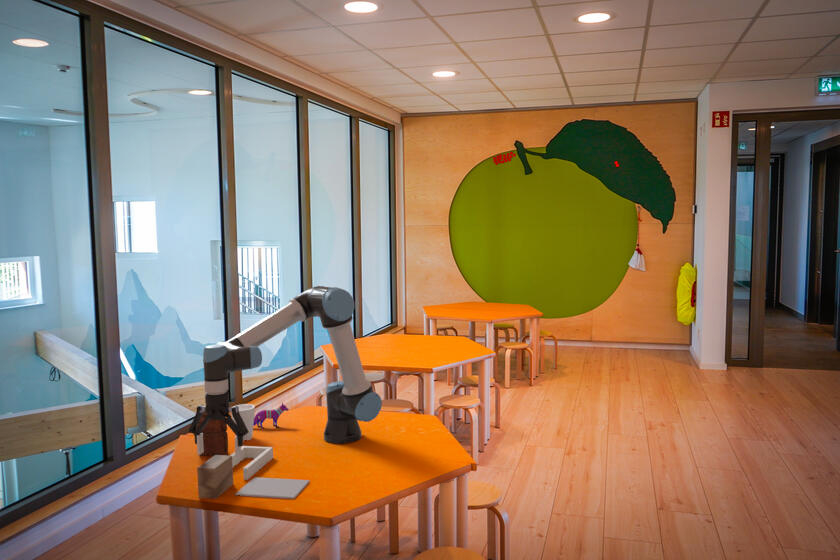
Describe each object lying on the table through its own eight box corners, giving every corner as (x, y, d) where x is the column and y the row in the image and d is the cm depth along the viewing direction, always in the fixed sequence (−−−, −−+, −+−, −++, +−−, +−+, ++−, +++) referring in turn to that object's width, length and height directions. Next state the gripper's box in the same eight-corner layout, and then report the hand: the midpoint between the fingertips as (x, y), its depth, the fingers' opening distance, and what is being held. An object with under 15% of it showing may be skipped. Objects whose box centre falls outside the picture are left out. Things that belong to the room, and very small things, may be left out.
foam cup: (259, 435, 282) (257, 404, 280) (251, 442, 272) (250, 410, 271) (237, 434, 283) (235, 404, 281) (228, 442, 273) (227, 410, 272)
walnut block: (233, 484, 230) (231, 455, 229) (215, 499, 218) (214, 468, 217) (217, 483, 231) (215, 454, 230) (198, 497, 219) (197, 467, 218)
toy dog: (289, 427, 291) (288, 403, 290) (246, 430, 288) (245, 406, 288) (289, 424, 295) (288, 401, 294) (247, 427, 292) (245, 404, 291)
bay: (273, 457, 254) (272, 447, 254) (247, 479, 233) (247, 468, 233) (243, 456, 257) (242, 445, 256) (215, 477, 236) (214, 466, 235)
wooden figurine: (230, 449, 264) (228, 404, 263) (227, 455, 258) (225, 408, 256) (199, 451, 263) (197, 405, 262) (195, 457, 257) (193, 410, 255)
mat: (309, 482, 230) (309, 480, 230) (294, 499, 216) (293, 497, 216) (254, 478, 234) (254, 477, 234) (235, 495, 220) (235, 493, 220)
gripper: (256, 390, 226) (259, 452, 228) (188, 387, 231) (191, 448, 233) (246, 396, 219) (249, 460, 220) (176, 393, 223) (179, 456, 225)
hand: (219, 454), depth 226 cm, fingers open, 13 cm apart
